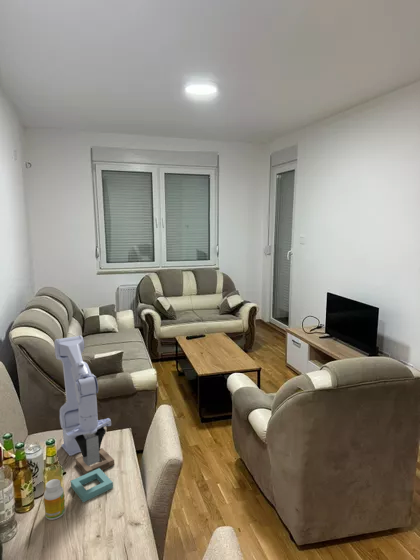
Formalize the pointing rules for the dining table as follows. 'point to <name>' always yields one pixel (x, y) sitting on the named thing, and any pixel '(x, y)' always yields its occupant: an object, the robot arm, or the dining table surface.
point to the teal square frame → (94, 491)
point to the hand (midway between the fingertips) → (90, 452)
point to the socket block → (105, 464)
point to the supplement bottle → (54, 500)
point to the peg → (91, 449)
